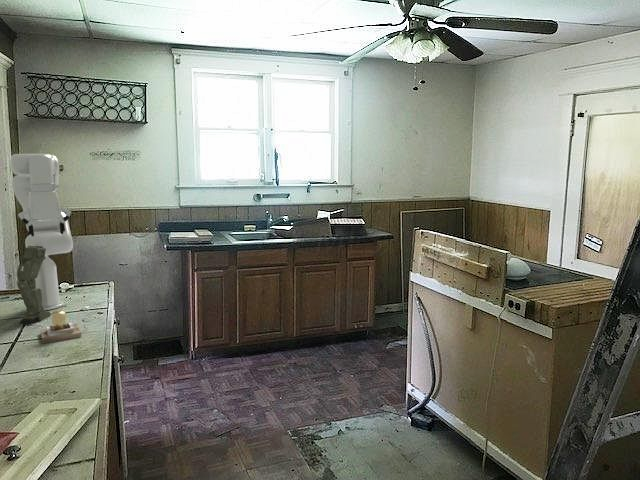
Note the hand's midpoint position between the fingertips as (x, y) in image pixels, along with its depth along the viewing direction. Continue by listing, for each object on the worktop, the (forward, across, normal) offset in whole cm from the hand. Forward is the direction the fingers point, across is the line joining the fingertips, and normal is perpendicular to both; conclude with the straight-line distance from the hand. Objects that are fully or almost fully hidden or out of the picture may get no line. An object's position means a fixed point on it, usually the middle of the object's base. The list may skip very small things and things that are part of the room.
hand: (47, 234), depth 189 cm
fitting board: (+34, 0, +16) cm, 38 cm away
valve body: (+33, 0, +15) cm, 36 cm away
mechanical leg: (+34, +6, -10) cm, 36 cm away
